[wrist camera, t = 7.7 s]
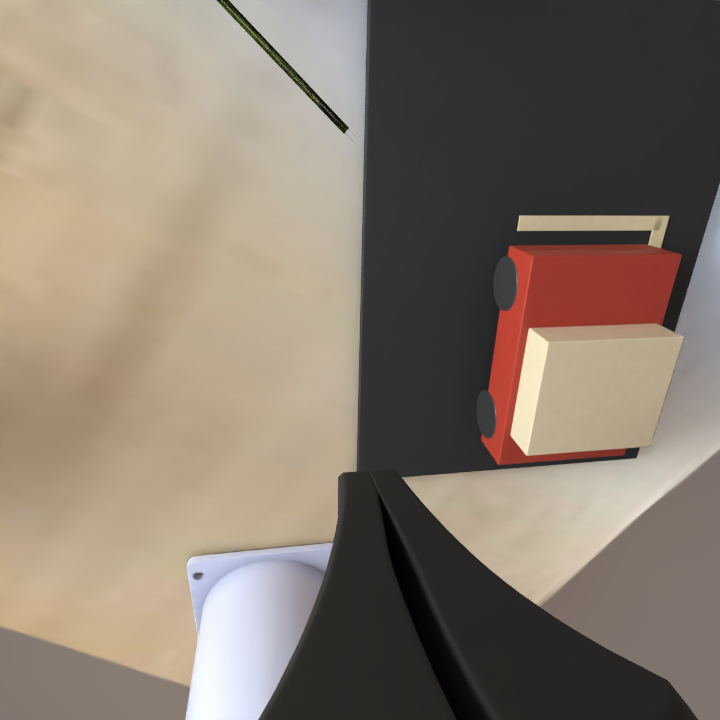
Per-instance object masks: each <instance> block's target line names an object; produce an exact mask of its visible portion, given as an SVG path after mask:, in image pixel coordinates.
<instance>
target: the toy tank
mask: <svg viewBox="0 0 720 720" xmlns="http://www.w3.org/2000/svg"><path fill="white" fill-rule="evenodd" d="M217 1H218V2H219V3H220V4H221V5H222V6H223V7H224V9H225V10H226V11H227V12H228V13H229V14H230V15H231V16H232V17H233V18H234V19H235V20H236V21H237V22H238V23H239V24H240V25H241V26H242V27H243V28H244V29H245V31H246V32H247V33H248V34H249V35H250V36H251V37H252V38H253V39H254V40H255V41H256V42H257V43H258V44H259V45H260V46H261V47H262V48H263V49H264V50H265V51H266V53H267V54H268V55H269V56H270V57H271V58H272V59H273V60H274V61H275V62H276V63H277V64H278V65H279V66H280V67H281V68H282V69H283V70H284V71H285V72H286V74H287V75H288V76H289V77H290V78H291V79H292V80H293V81H294V82H295V83H296V84H297V85H298V86H299V87H300V88H301V89H302V90H303V91H304V92H305V93H306V94H307V96H308V97H309V98H310V99H311V100H312V101H313V102H314V103H315V104H316V105H317V106H318V107H319V108H320V109H321V110H322V111H323V112H324V113H325V114H326V115H327V116H328V118H329V119H330V120H331V121H332V122H333V123H334V124H335V125H336V126H337V127H338V128H339V129H340V130H341V131H342V132H343V133H346V130H347V129H348V126H347V125H346V124H345V123H344V122H343V121H342V120H341V119H340V118H339V117H338V116H337V115H336V114H335V113H334V112H333V111H332V109H331V108H330V107H329V106H328V105H327V104H326V103H325V102H324V101H323V100H322V99H321V98H320V97H319V96H318V95H317V94H316V93H315V91H314V90H313V89H312V88H311V87H310V86H309V85H308V84H307V83H306V82H305V81H304V80H303V79H302V78H301V77H300V76H299V74H298V73H297V72H296V71H295V70H294V69H293V68H292V67H291V66H290V65H289V64H288V63H287V62H286V61H285V60H284V59H283V58H282V56H281V55H280V54H279V53H278V52H277V51H276V50H275V49H274V48H273V47H272V46H271V45H270V44H269V43H268V42H267V41H266V39H265V38H264V37H263V36H262V35H261V34H260V33H259V32H258V31H257V30H256V29H255V28H254V27H253V26H252V25H251V24H250V23H249V21H248V20H247V19H246V18H245V17H244V16H243V15H242V14H241V13H240V12H239V11H238V10H237V9H236V8H235V7H234V6H233V4H232V3H231V2H230V1H229V0H222V1H223V2H224V3H225V4H226V5H227V6H229V7H230V8H231V9H232V10H233V12H234V13H235V14H236V15H237V17H238V18H239V19H240V20H241V21H242V22H243V23H244V24H245V25H246V26H248V27H249V28H250V29H251V30H252V31H253V32H254V33H255V35H256V36H257V38H258V39H259V40H260V41H261V42H262V43H263V44H264V45H265V46H267V47H268V48H269V49H270V50H271V51H272V53H273V54H274V55H275V56H276V57H277V58H278V57H279V58H278V59H277V58H276V57H275V56H274V55H273V54H272V53H271V52H270V51H269V50H268V49H267V48H266V47H265V46H264V45H263V44H262V43H261V42H260V41H259V40H258V39H257V38H256V36H255V35H254V34H253V33H252V32H251V31H250V30H249V29H248V28H247V27H246V26H245V25H244V24H243V23H242V22H241V21H240V20H239V19H238V18H237V17H236V15H235V14H234V13H233V12H232V11H231V10H230V9H229V8H228V7H227V6H226V5H225V4H224V3H223V2H222V1H221V0H217ZM265 42H266V43H267V44H266V43H265ZM282 60H283V61H284V62H283V61H282ZM280 62H281V63H282V64H283V65H284V66H286V67H287V69H288V70H289V71H290V72H291V73H292V74H293V75H294V76H293V75H292V74H291V73H290V72H289V71H288V70H287V69H286V68H285V67H284V66H283V65H282V64H281V63H280ZM295 75H296V76H297V77H298V80H299V81H298V80H297V79H296V78H297V77H296V76H295ZM295 77H296V78H295ZM300 79H301V80H302V81H301V80H300ZM303 86H304V87H305V88H306V89H307V90H308V91H309V92H310V93H311V94H312V95H311V94H310V93H309V92H308V91H307V90H306V89H305V88H304V87H303ZM313 94H314V95H315V96H316V98H317V99H318V100H319V102H318V101H317V100H316V99H315V98H314V97H313V96H314V95H313ZM326 110H327V111H328V112H329V113H330V112H331V113H332V114H333V115H334V117H335V118H336V119H334V118H333V117H332V116H331V113H330V114H329V113H328V112H327V111H326ZM353 135H354V134H353Z"/></svg>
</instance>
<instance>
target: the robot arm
mask: <svg viewBox="0 0 720 720" xmlns="http://www.w3.org/2000/svg"><path fill="white" fill-rule="evenodd" d="M187 572H188V578H189V584H190V590H191V596H192V603H193V609H194V615H195V621H196V627H197V633H198V642H197V649H196V655H195V662H194V668H193V675H192V681H191V687H190V694H189V701H188V707H187V713H186V720H698V719H697V718H696V716H695V715H694V713H693V712H692V711H691V709H690V708H689V706H688V705H687V704H686V703H685V701H684V700H683V699H682V698H681V696H680V695H679V694H678V693H677V691H676V690H675V689H674V688H673V686H672V685H671V684H670V683H669V682H668V681H667V680H666V679H664V678H662V677H660V676H658V675H656V674H654V673H652V672H650V671H648V670H646V669H644V668H643V667H641V666H639V665H637V664H635V663H633V662H631V661H629V660H627V659H625V658H623V657H621V656H619V655H617V654H615V653H613V652H612V651H609V650H608V649H606V648H604V647H603V646H601V645H599V644H598V643H596V642H594V641H592V640H591V639H589V638H587V637H586V636H584V635H582V634H581V633H579V632H577V631H575V630H574V629H572V628H570V627H569V626H567V625H566V624H564V623H563V622H561V621H559V620H558V619H556V618H555V617H553V616H552V615H550V614H549V613H548V612H546V611H544V610H543V609H541V608H540V607H539V606H537V605H536V604H534V603H533V602H532V601H530V600H529V599H527V598H526V597H524V596H523V595H522V594H520V593H519V592H517V591H516V590H515V589H513V588H512V587H511V586H509V585H508V584H507V583H506V582H504V581H503V580H502V579H501V578H499V577H498V576H497V575H496V574H495V573H493V572H492V571H491V570H490V569H488V568H487V567H486V566H485V565H484V564H483V563H482V562H480V561H479V560H478V559H477V558H476V557H475V556H474V555H473V554H472V553H471V552H469V551H468V550H467V549H466V548H465V547H464V546H463V545H462V544H461V543H460V542H459V541H458V540H457V539H456V538H455V537H454V536H453V535H452V534H451V533H450V532H449V531H448V530H447V529H446V528H445V527H444V526H443V525H442V524H441V523H440V522H439V521H438V519H437V518H436V517H435V516H434V515H433V514H432V513H431V512H430V511H429V510H428V509H427V508H426V506H425V505H424V504H423V503H422V502H421V501H420V499H419V498H418V497H417V496H416V495H415V494H414V492H413V491H412V490H411V489H410V488H409V486H408V485H407V484H406V483H405V481H404V480H403V479H402V478H401V477H400V475H399V474H398V473H397V472H396V471H395V470H394V469H385V470H372V471H359V472H346V473H342V474H341V475H340V476H339V477H338V521H337V526H336V532H335V537H334V542H333V543H323V544H312V545H302V546H292V547H282V548H272V549H262V550H252V551H242V552H232V553H221V554H211V555H201V556H195V557H192V558H191V559H190V560H189V561H188V565H187ZM197 572H201V574H197Z"/></svg>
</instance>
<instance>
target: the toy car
mask: <svg viewBox="0 0 720 720" xmlns="http://www.w3.org/2000/svg"><path fill="white" fill-rule="evenodd" d="M681 257H682V255H681V254H679V253H675V252H672V251H668V250H665V249H661V248H658V247H654V246H651V245H647V244H625V245H512V246H509V251H508V256H505V257H503V258H501V259H500V261H499V262H498V264H497V266H496V269H495V273H494V280H493V290H494V297H495V301H496V303H497V305H498V307H499V308H500V313H499V320H498V327H497V334H496V341H495V348H494V355H493V362H492V369H491V376H490V382H489V389H488V390H483V391H481V392H480V394H479V396H478V399H477V406H476V413H477V421H478V425H479V428H480V431H481V433H482V438H481V440H482V442H483V443H484V445H485V446H486V448H487V449H488V451H489V452H490V453H491V455H492V456H493V458H494V459H495V461H496V462H497V464H498V465H505V464H518V463H531V462H543V461H556V460H568V459H581V458H593V457H606V456H619V455H624V454H625V451H626V448H636V447H648V446H651V442H652V439H653V436H654V433H655V430H656V426H657V423H658V420H659V417H660V414H661V410H662V407H663V404H664V401H665V397H666V394H667V391H668V388H669V385H670V381H671V378H672V375H673V372H674V369H675V365H676V362H677V359H678V356H679V353H680V349H681V346H682V343H683V340H684V337H683V336H681V335H679V334H677V333H675V332H673V331H671V330H669V329H667V328H665V327H663V326H662V323H663V319H664V316H665V312H666V309H667V305H668V302H669V299H670V295H671V292H672V288H673V285H674V281H675V278H676V274H677V271H678V267H679V264H680V260H681Z"/></svg>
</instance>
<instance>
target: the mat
mask: <svg viewBox="0 0 720 720" xmlns="http://www.w3.org/2000/svg"><path fill="white" fill-rule="evenodd" d="M719 183H720V0H368V10H367V52H366V95H365V138H364V181H363V224H362V267H361V309H360V352H359V395H358V438H357V472H359V471H372V470H385V469H394V470H395V471H396V472H397V473H398V474H399V475H400V477H409V476H421V475H434V474H446V473H458V472H471V471H483V470H496V469H508V468H520V467H533V466H545V465H558V464H570V463H582V462H595V461H607V460H620V459H632V458H637V455H638V451H639V448H640V447H636V448H626V451H625V454H624V455H619V456H606V457H593V458H581V459H568V460H556V461H543V462H531V463H518V464H505V465H498V464H497V462H496V461H495V459H494V458H493V456H492V455H491V453H490V452H489V451H488V449H487V448H486V446H485V445H484V443H483V442H482V440H481V438H482V433H481V431H480V428H479V425H478V421H477V413H476V406H477V399H478V396H479V394H480V392H481V391H483V390H488V389H489V382H490V376H491V369H492V362H493V355H494V348H495V341H496V334H497V327H498V320H499V313H500V308H499V307H498V305H497V303H496V301H495V297H494V290H493V280H494V273H495V269H496V266H497V264H498V262H499V261H500V259H501V258H503V257H505V256H508V251H509V246H512V245H625V244H647V245H651V246H654V247H658V248H661V249H665V250H668V251H672V252H675V253H679V254H681V255H682V257H681V260H680V264H679V267H678V271H677V274H676V278H675V281H674V285H673V288H672V292H671V295H670V299H669V302H668V305H667V309H666V312H665V316H664V319H663V323H662V326H663V327H665V328H667V329H669V330H671V331H673V332H675V329H676V326H677V322H678V319H679V316H680V312H681V309H682V306H683V302H684V299H685V296H686V292H687V289H688V286H689V282H690V279H691V276H692V273H693V269H694V266H695V263H696V259H697V256H698V253H699V249H700V246H701V243H702V239H703V236H704V233H705V229H706V226H707V223H708V220H709V216H710V213H711V210H712V206H713V203H714V200H715V196H716V193H717V190H718V186H719Z"/></svg>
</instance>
